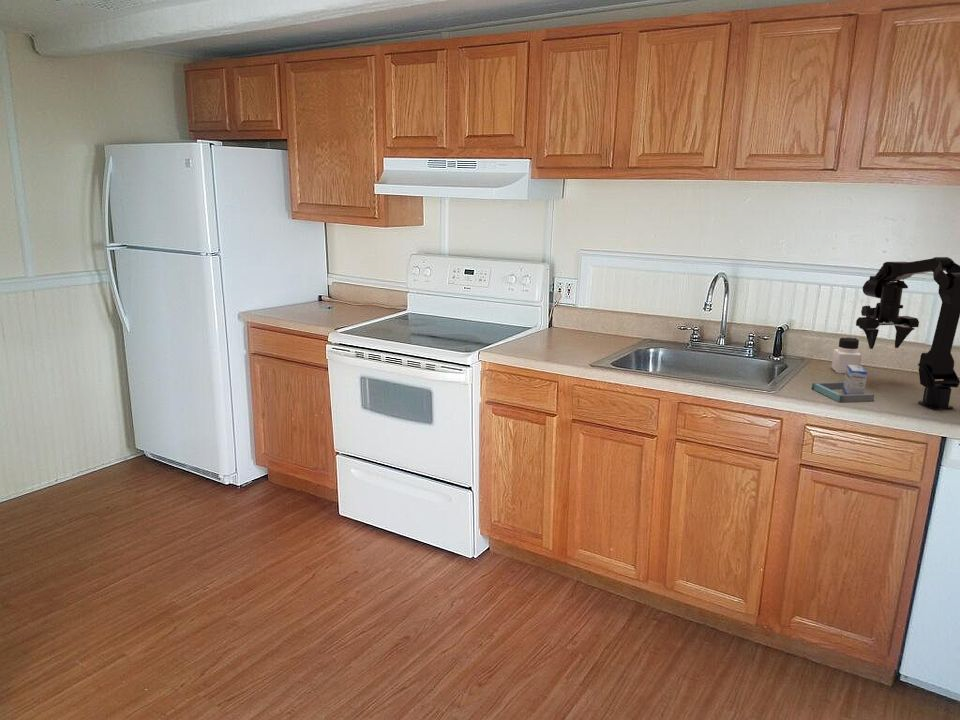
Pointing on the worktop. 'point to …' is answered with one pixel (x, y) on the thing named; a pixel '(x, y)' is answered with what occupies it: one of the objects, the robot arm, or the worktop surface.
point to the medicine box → (855, 380)
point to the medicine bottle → (846, 354)
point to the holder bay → (825, 389)
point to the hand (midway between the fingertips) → (883, 348)
